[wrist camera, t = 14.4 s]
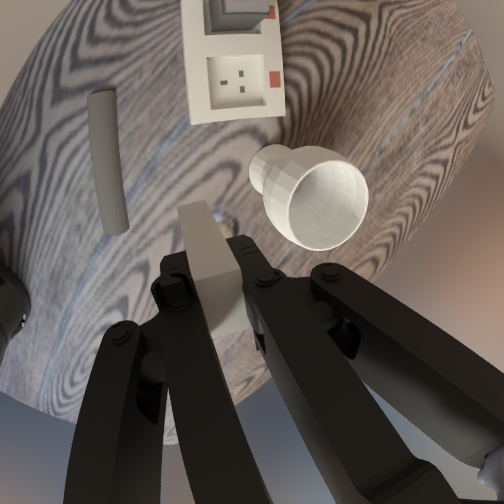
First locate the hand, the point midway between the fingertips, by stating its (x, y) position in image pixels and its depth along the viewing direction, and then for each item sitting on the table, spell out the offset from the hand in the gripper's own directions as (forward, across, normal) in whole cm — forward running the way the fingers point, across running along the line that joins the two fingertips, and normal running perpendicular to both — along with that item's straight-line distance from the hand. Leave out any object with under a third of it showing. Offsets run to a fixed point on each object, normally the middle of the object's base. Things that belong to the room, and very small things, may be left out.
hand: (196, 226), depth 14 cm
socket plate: (+22, +9, +14) cm, 28 cm away
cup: (+22, +13, -5) cm, 26 cm away
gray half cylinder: (+24, -9, +2) cm, 25 cm away
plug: (+22, +9, +19) cm, 30 cm away
